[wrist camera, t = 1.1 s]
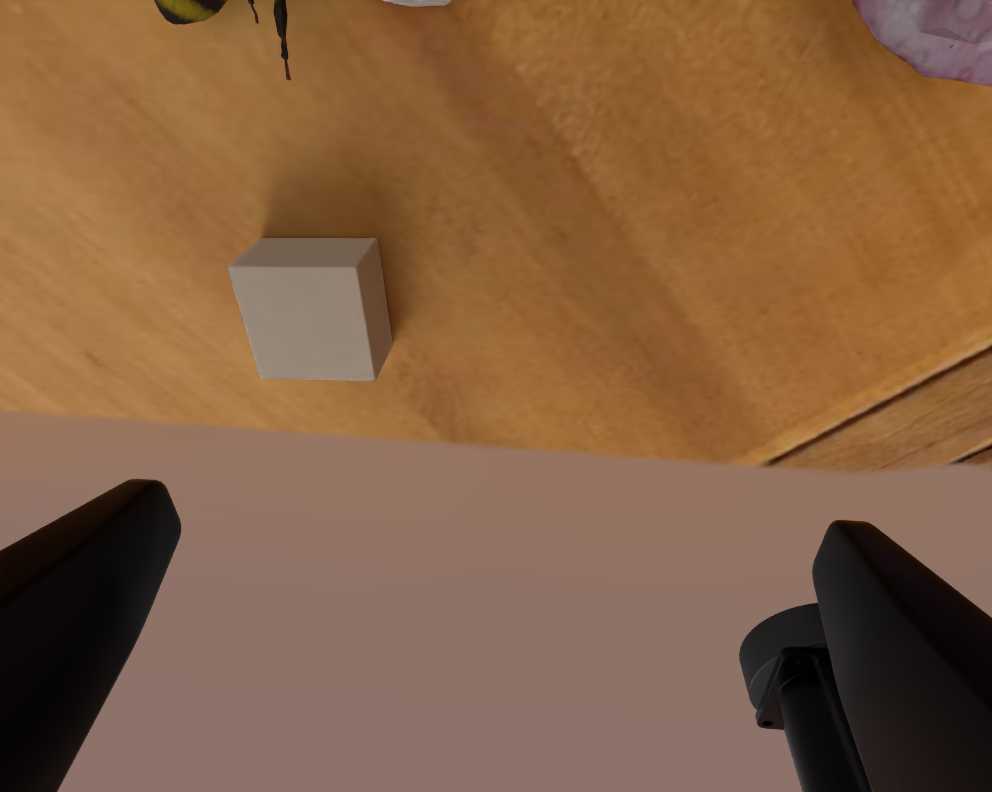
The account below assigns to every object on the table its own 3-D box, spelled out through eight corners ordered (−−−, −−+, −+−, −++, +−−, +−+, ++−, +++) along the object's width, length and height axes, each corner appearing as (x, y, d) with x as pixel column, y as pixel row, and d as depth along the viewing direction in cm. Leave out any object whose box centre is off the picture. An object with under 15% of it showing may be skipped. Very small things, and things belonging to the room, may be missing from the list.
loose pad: (393, 344, 22) (375, 382, 20) (287, 342, 22) (259, 379, 20) (378, 237, 20) (356, 266, 18) (260, 237, 20) (226, 266, 18)
